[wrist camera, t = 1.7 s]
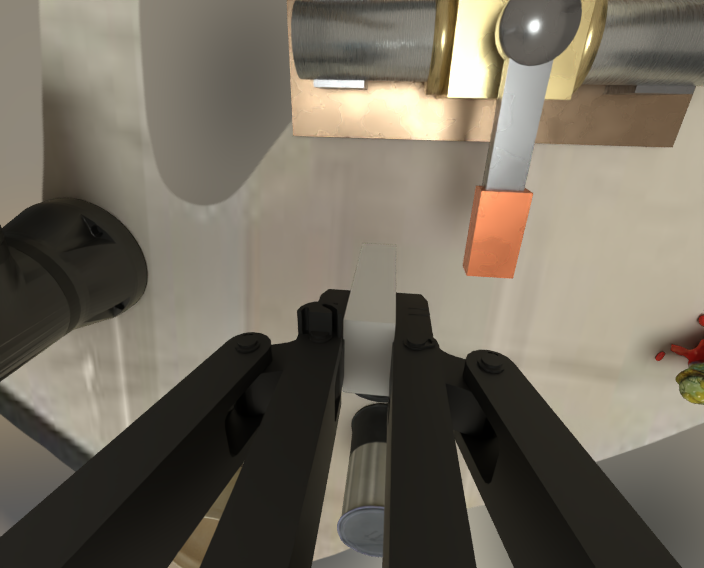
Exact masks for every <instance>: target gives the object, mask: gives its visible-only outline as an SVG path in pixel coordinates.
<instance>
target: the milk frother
mask: <svg viewBox="0 0 704 568" xmlns="http://www.w3.org/2000/svg"><path fill="white" fill-rule="evenodd" d="M355 394H356V395H358V396H360V397H362V398H365V399H368V400H371V401H376V402H388V400H389V396H380V395H369V394H358V393H355ZM387 412H388V404H375V405H371V406H367V407H365V408H363V409H361V410H360V411H359V412H358V413H356V415H355V416H354V418H353V420H352V441H351V451H350V458H349V465H348V472H347V479H346V486H345V494H344V501H343V509H342V516H341V518H340V519H339V521H338V524H337V531H338V534H339V536H340V539H341V541H343V542H344V544H346V545H347V546H348V547H350V548H352V549H353V550H355V551H357V552H360V553H362V554H366V555H369V556H375V557H383V533H384V504H385V475H386V446H387V427H386V424H387Z"/></svg>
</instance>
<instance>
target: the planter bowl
mask: <svg viewBox="0 0 704 568" xmlns="http://www.w3.org/2000/svg"><path fill="white" fill-rule="evenodd" d="M241 468H242V466H240V468H239V469H238V470H237V472H236V473H235V475H234V476H233V477H232V479H231V480H230V482H229V483H228V484H227V486H226V487H225V489H224V490H223V491H222V493H221V494H220V496H219V497H218V498H217V500H216V501H215V502H214V504H213V505H212V507H211V508H210V509H209V511H208V512H207V514H206V515H205V516H204V518H203V519H202V521H201V522H200V523H199V525H198V526H197V527H196V529H195V530H194V532H193V533H192V534H191V536H190V537H189V539H188V540H187V541H186V543H185V544H184V546H183V547H182V548H181V550H180V551H179V552H178V554H177V555H176V557H175V558H174V559H173V561H172V562H173V563H174V564H175V565H177V566H178V567H179V568H199V567H200V565H201V563H202V560H203V558H204V556H205V553H206V551H207V549H208V546H209V544H210V541H211V539H212V537H213V534H214V532H215V530H216V527H217V525H218V523H219V520H220V518H221V516H222V513H223V511H224V509H225V506H226V504H227V501H228V499H229V497H230V494H231V492H232V490H233V487H234V485H235V483H236V480H237V478H238V476H239V473H240V471H241Z"/></svg>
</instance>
